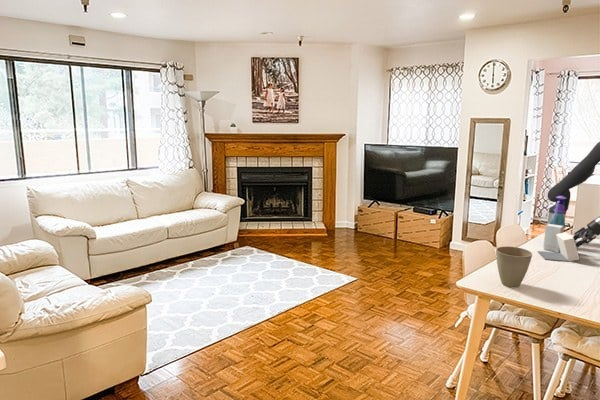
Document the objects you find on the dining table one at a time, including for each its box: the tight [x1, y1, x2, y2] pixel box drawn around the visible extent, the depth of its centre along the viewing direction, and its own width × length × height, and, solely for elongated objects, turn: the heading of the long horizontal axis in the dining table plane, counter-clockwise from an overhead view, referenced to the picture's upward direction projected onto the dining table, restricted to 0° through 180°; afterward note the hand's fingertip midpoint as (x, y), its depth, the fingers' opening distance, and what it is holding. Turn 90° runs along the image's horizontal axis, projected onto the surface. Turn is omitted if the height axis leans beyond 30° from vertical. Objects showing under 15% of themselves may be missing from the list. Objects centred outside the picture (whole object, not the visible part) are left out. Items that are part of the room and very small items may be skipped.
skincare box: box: [542, 223, 565, 253], centre depth 256 cm, size 8×6×15 cm
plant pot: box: [495, 245, 533, 288], centre depth 203 cm, size 15×15×16 cm
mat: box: [537, 250, 570, 263], centre depth 245 cm, size 14×11×1 cm
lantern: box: [550, 196, 566, 230], centre depth 265 cm, size 13×12×30 cm
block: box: [556, 231, 580, 262], centre depth 243 cm, size 12×5×12 cm, turn 168°
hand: (572, 243), depth 242 cm, fingers open, 8 cm apart
